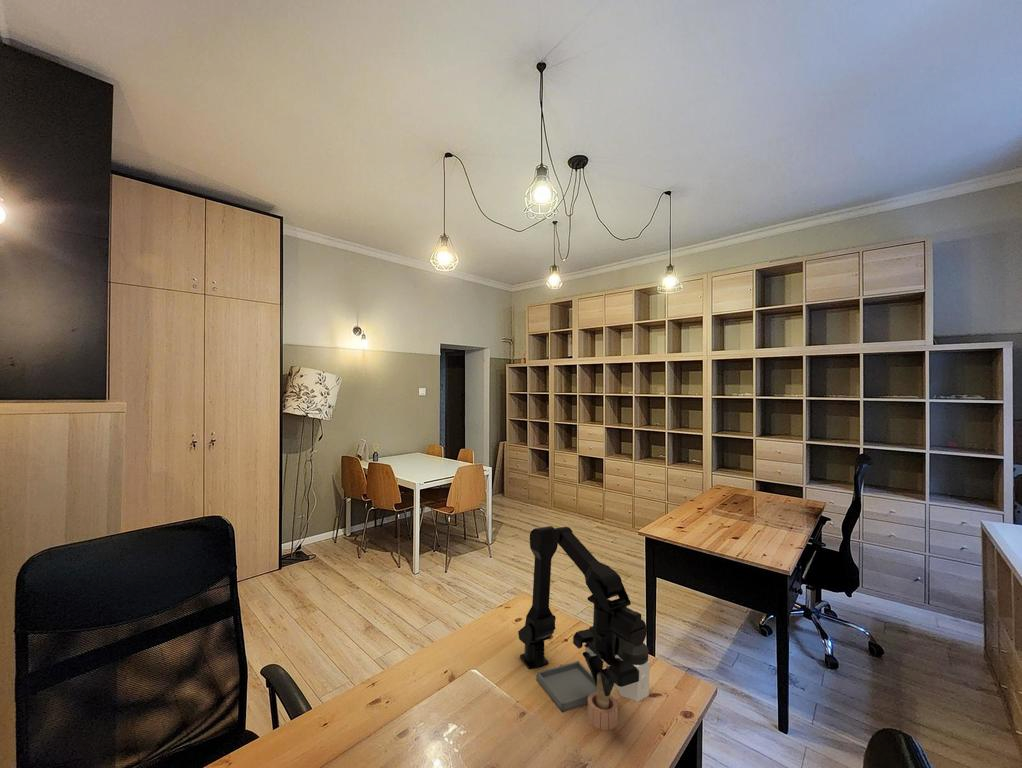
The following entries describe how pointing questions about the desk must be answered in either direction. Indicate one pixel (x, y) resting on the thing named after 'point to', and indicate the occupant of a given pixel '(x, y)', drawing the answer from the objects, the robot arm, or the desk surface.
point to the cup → (602, 713)
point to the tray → (567, 685)
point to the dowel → (601, 695)
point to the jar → (642, 663)
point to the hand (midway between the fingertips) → (602, 691)
